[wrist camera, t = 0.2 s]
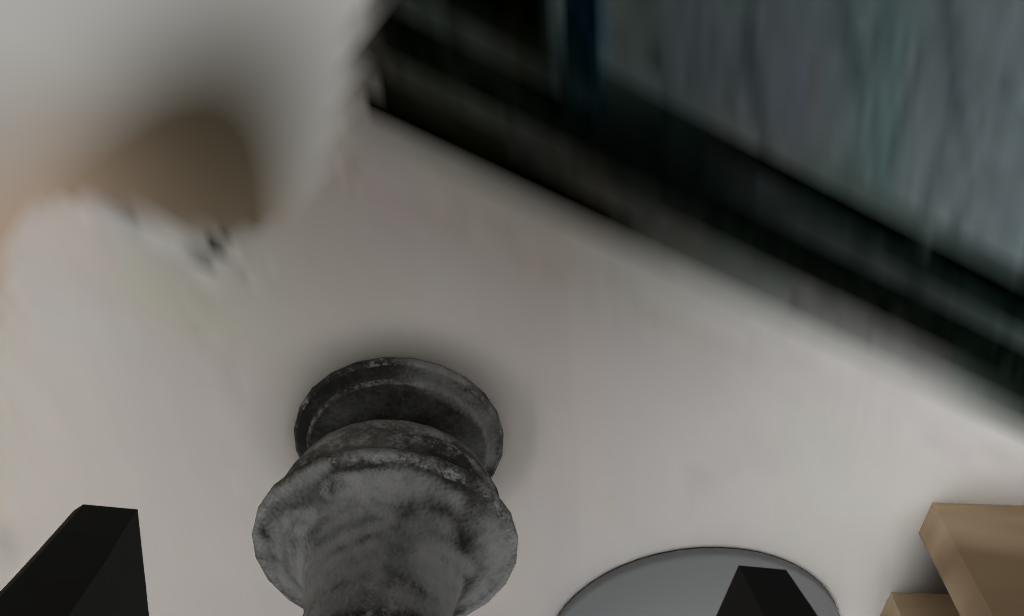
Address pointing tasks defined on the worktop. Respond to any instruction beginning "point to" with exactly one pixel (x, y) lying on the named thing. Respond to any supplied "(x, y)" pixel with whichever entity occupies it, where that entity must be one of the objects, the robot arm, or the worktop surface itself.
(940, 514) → the slotted wooden block
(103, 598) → the robot arm
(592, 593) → the pad
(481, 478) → the dark grey stone ornament
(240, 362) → the worktop surface
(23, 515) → the worktop surface
